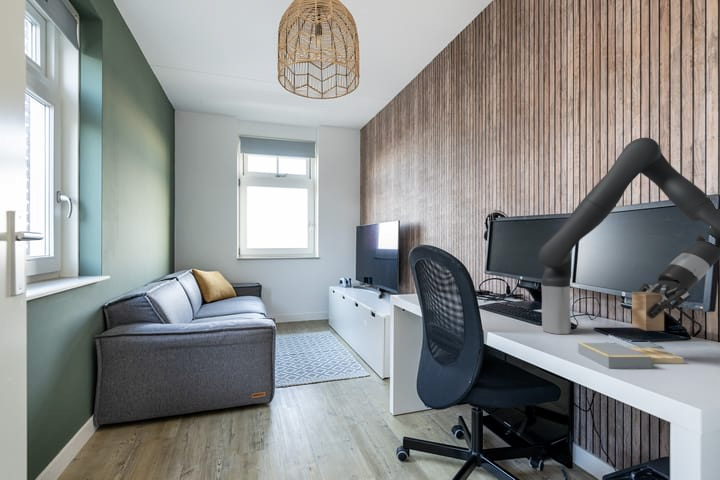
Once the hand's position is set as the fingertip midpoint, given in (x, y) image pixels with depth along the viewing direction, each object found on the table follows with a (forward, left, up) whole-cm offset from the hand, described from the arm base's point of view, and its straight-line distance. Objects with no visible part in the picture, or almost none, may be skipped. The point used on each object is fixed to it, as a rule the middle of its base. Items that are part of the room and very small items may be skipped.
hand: (641, 313), depth 98 cm
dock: (+2, -10, -12) cm, 16 cm away
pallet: (0, +2, -12) cm, 13 cm away
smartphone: (-16, +10, -13) cm, 23 cm away
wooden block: (0, +2, -4) cm, 4 cm away
